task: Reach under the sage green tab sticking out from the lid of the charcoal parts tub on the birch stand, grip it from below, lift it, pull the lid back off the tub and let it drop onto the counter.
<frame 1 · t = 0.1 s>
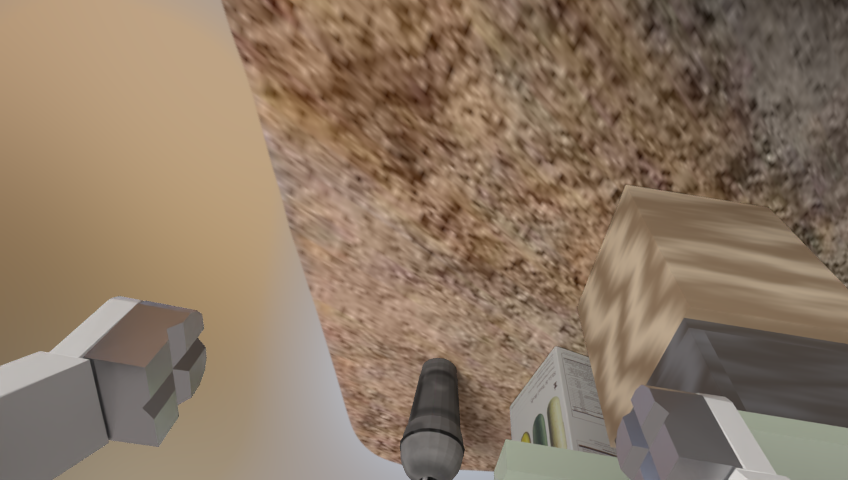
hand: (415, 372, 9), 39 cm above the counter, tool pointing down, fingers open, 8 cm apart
beverage cup: (439, 369, 66), on the counter
supplement box: (575, 390, 66), on the counter
tub stand: (664, 261, 53), on the counter
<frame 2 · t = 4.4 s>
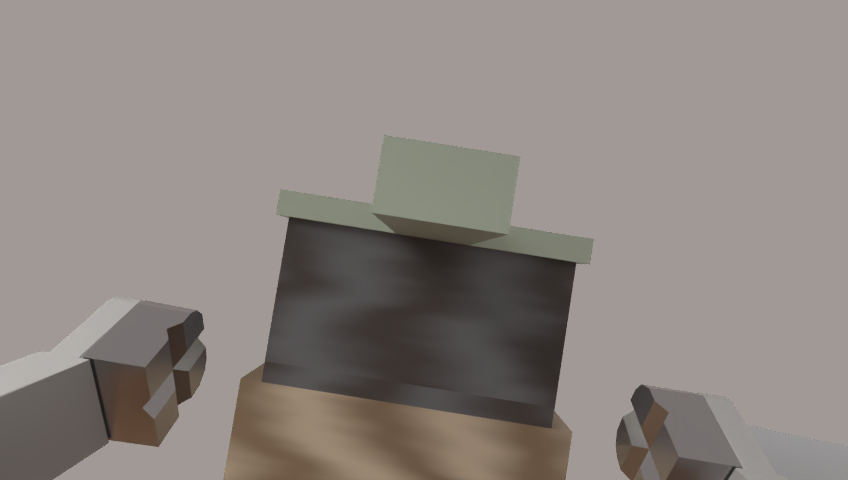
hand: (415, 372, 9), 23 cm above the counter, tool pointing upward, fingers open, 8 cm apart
lid: (430, 243, 31), point 26 cm above the counter, touching tub stand
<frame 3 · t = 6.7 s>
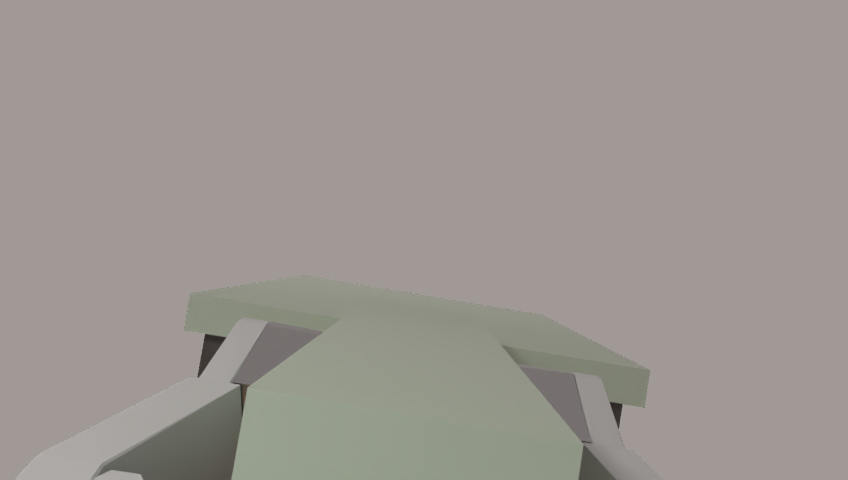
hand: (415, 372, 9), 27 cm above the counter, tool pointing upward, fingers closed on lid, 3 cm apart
lid: (417, 332, 24), point 26 cm above the counter, touching gripper, tub stand
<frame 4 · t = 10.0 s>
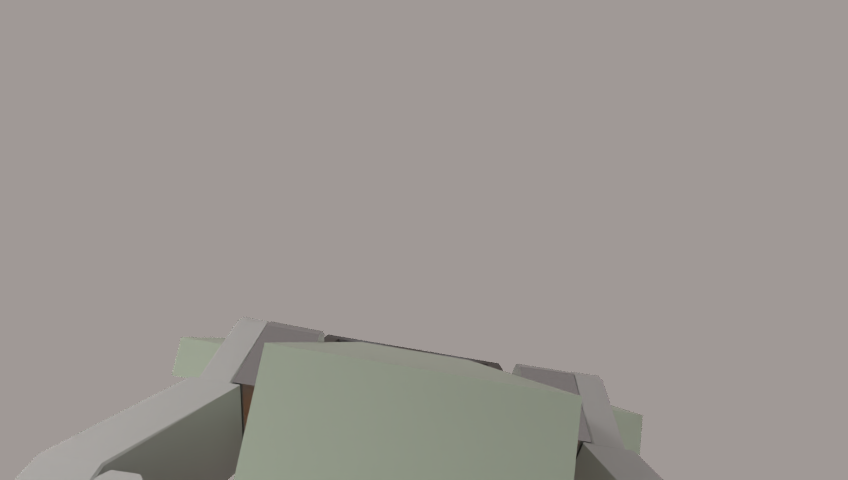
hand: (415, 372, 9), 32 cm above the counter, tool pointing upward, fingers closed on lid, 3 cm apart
lid: (406, 391, 23), point 27 cm above the counter, tilted 10°, touching gripper
when the fingers open (24 cm above the counter, at t = 13.2 s): lid drops 6 cm and tips over, point 5 cm above the counter.
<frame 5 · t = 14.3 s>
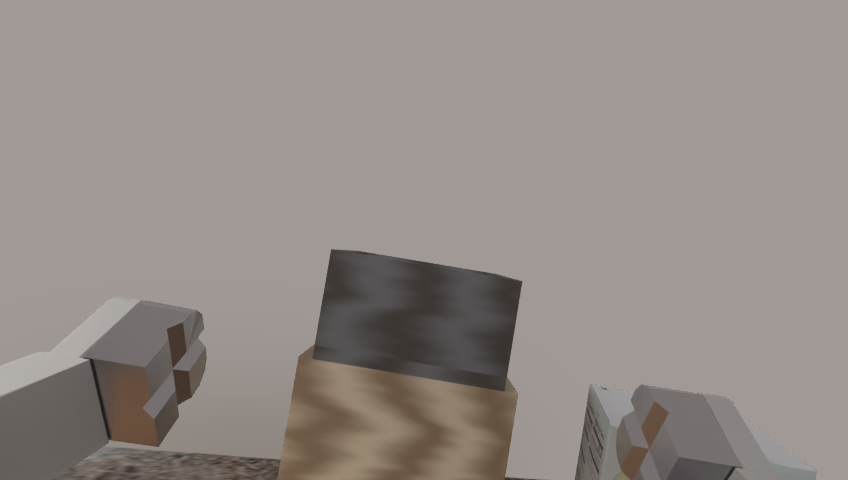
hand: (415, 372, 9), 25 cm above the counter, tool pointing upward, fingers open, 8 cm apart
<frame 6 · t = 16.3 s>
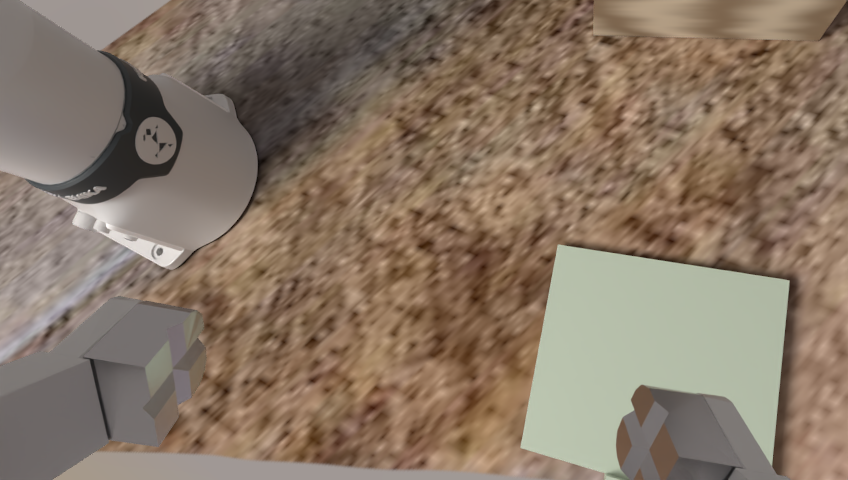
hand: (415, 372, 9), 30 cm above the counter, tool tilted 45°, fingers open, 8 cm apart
lid: (648, 367, 35), on the counter
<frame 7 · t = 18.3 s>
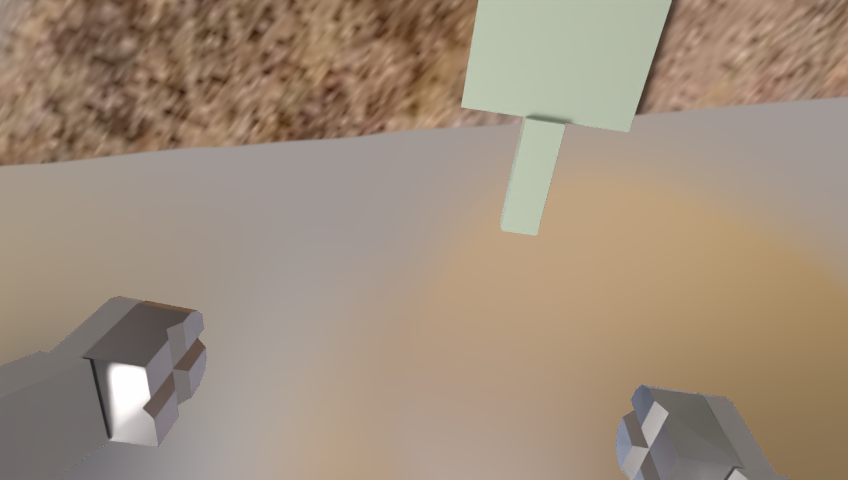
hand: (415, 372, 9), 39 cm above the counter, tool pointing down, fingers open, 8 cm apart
lid: (564, 27, 42), on the counter
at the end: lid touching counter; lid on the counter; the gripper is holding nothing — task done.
